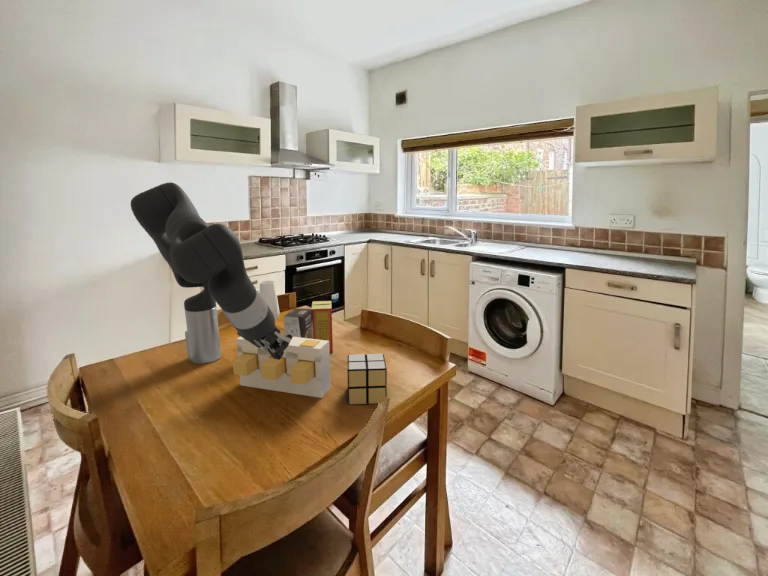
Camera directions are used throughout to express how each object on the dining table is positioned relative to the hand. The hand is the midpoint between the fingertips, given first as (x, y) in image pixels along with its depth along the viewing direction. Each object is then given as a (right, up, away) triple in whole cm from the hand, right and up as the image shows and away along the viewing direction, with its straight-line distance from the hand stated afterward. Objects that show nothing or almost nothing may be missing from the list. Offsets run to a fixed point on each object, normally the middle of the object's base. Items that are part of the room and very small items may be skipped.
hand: (278, 355), depth 93 cm
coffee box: (-3, -8, +41) cm, 42 cm away
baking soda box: (+2, -6, +51) cm, 51 cm away
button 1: (-14, -7, +19) cm, 25 cm away
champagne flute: (-15, -6, +49) cm, 51 cm away
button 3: (+3, -9, +15) cm, 17 cm away
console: (-4, -13, +23) cm, 27 cm away
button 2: (-6, -8, +17) cm, 20 cm away
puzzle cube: (+19, -14, +19) cm, 30 cm away
